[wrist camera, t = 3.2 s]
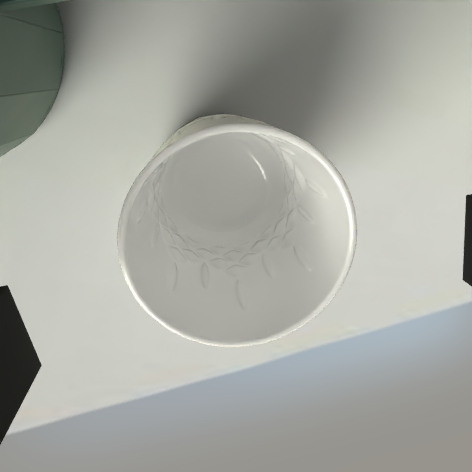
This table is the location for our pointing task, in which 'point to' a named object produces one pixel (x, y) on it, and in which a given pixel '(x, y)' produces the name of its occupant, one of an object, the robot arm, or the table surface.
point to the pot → (28, 66)
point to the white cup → (236, 232)
